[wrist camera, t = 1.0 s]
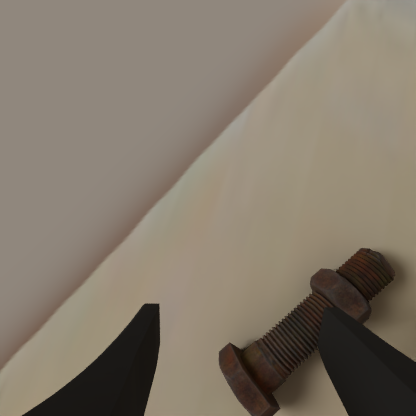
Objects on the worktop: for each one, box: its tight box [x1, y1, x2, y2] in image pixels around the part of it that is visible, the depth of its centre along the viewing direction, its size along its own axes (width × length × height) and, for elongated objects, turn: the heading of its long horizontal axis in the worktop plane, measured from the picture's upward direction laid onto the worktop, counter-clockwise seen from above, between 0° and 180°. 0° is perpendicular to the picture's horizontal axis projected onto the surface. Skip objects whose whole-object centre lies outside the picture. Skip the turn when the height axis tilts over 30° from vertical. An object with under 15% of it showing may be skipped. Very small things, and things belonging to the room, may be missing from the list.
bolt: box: [219, 248, 395, 416], centre depth 22 cm, size 6×5×15 cm
